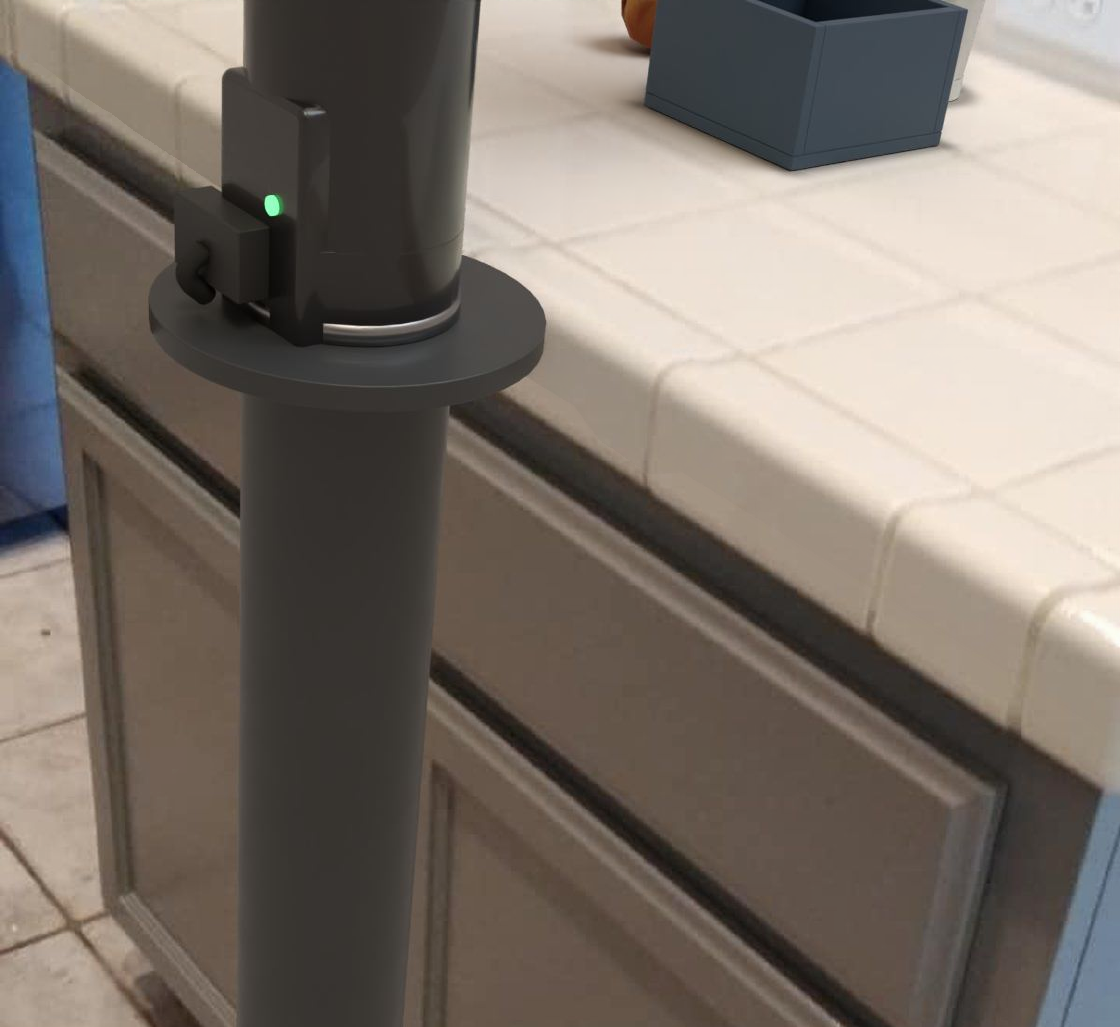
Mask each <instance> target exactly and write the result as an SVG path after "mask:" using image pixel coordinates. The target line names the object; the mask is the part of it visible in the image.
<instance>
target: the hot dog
mask: <svg viewBox="0 0 1120 1027" xmlns="http://www.w3.org/2000/svg"><path fill="white" fill-rule="evenodd" d="M656 6H657V0H620V7H621V8H620V11H621V12H620V14H621V17H622V20H623V23H624V26H625V28H626V32H627V35H628V37H629V38H630V39H632V40H633V41H634V42H636V43H638V44H640V45H641V46H643V47H645V48H646V49H650V50H651V46H652V38H653V30H654V22H655V14H656Z"/></svg>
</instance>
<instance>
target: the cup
mask: <svg viewBox="0 0 1120 1027" xmlns="http://www.w3.org/2000/svg"><path fill="white" fill-rule="evenodd" d="M942 1H945V2H948V3H951V4H954V5H957V6H959V7H962V8H965V9H968V14H967V18H966V23H965V28H964V32H963V37H962V41H961V46H960V51H959V55H958V60H957V64H956V69H955V74H954V78H953V83H952V88H951V92H950V97H949V101H948V102H953V101H955V100H957V99H959V97H960V94H961V90H962V85H963V79H964V76H965V75H964V74H965V71H966V67H967V64H968V60H969V57H970V54H971V51H972V47H973V43H974V40H975V37H976V34H977V30H978V27H979V23H980V20H981V17H982V14H983V9H984V6H985V3H986V0H942Z"/></svg>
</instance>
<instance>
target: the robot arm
mask: <svg viewBox="0 0 1120 1027" xmlns="http://www.w3.org/2000/svg"><path fill="white" fill-rule="evenodd" d="M242 2H243V3H242V4H243V5H242V6H243V7H242V9H243V10H242V11H243V12H242V16H243V19H242V23H243V24H242V37H243V38H242V66H234V67H228V68H227V69H226V70H224V72H223V74H222V75H221V76H222V77H221V190H220V189H218V188H216V187H215V186H213V185H206V186H200V187H199V186H198V187H194V188H186V189H178V190H174V191H173V217H174V218H173V220H174V222H173V223H174V224H173V225H174V230H173V231H174V232H173V233H174V262H176V263H177V265H176V270H175V276H176V280H177V282H178V284H179V286H180V287H181V289H182V290H183V291H184V292H185V293H186V294H187V295H188V296H190V297H191V298H193V299H194V300H195V301H197V302H198V303H199V304H202V305H206V304H208V303H210V302H211V301H212V300H213V299H214V298H215V296H216V290H217V291H219V292H220V293H221V296H222V297H223V298H225V299H226V300H228V301H229V302H231V303H232V304H234V305H235V306H236V307H238V308H239V309H241V310H242V311H244V312H245V313H247V314H248V315H250V316H251V317H252V318H254V319H255V320H256V321H258V322H260V323H261V324H263V325H264V326H266V327H267V328H269V329H270V330H272V331H273V332H275V333H276V334H278V335H279V336H281V337H282V338H284V339H285V340H286V341H288V342H289V343H291V344H292V345H294V346H296V347H307V346H312V345H319V344H332V345H344V346H390V345H399V344H406V343H411V342H416V341H420V340H424V339H427V338H430V337H433V336H436V335H438V334H440V333H442V332H444V331H446V330H447V329H449V328H450V327H451V326H452V325H453V324H454V323H455V322H456V321H457V319H458V317H459V314H460V305H461V287H460V274H461V261H462V255H463V246H464V232H465V218H466V205H467V204H466V203H467V192H468V180H469V166H470V165H469V164H470V153H471V152H470V150H471V138H472V126H473V125H472V124H473V112H474V111H473V110H474V100H475V97H474V96H475V86H476V72H477V71H476V70H477V60H478V58H477V57H478V46H479V33H480V19H481V6H482V0H242ZM215 289H216V290H215Z"/></svg>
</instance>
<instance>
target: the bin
mask: <svg viewBox="0 0 1120 1027" xmlns="http://www.w3.org/2000/svg"><path fill="white" fill-rule="evenodd" d="M967 14H968V9H965V8H962V7H959V6H957V5H954V4H951V3H948V2H945V1H942V0H657V6H656V14H655V22H654V30H653V38H652V46H651V49H650V53H649V62H648V71H647V77H646V78H647V79H646V86H645V94H644V103H643V106H644V107H645V106H646V107H648V108H649V109H652V110H654V111H657V112H659V113H661V114H663V115H666V116H668V117H670V118H672V119H675V120H676V121H679V122H681V123H683V124H686V125H687V126H690V127H693V128H694V129H697V130H700V131H701V132H704V133H706V134H708V135H709V136H713V137H715V138H717V139H719V140H722V141H723V142H726V143H728V144H730V145H733V146H735V147H737V148H739V149H742V150H744V151H745V152H748V153H750V154H752V155H755V156H757V157H759V158H762V159H764V160H766V161H768V162H770V163H773V164H775V165H777V166H780V167H782V168H784V169H786V170H789V171H792V172H793V171H796V170H803V169H807V168H814V167H818V166H819V167H820V166H825V165H830V164H837V163H842V162H849V161H854V160H855V161H856V160H860V159H866V158H872V157H877V156H882V155H883V156H884V155H889V154H894V153H899V152H906V151H912V150H917V149H923V148H928V147H934V146H939V145H940V143H941V139H942V134H943V133H942V131H943V129H944V124H945V121H946V120H945V119H946V115H947V110H948V106H949V102H950V101H949V97H950V92H951V88H952V83H953V78H954V74H955V69H956V64H957V60H958V55H959V51H960V46H961V41H962V37H963V32H964V28H965V23H966V18H967Z"/></svg>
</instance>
